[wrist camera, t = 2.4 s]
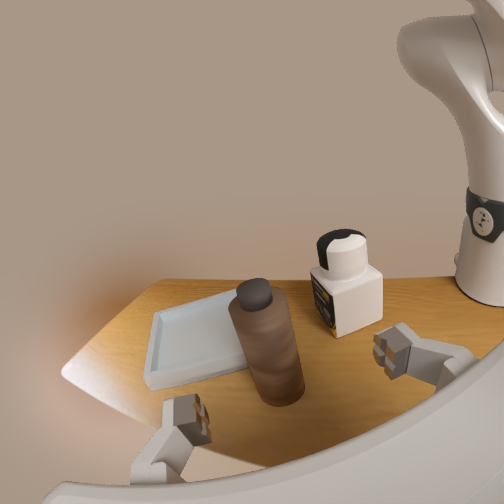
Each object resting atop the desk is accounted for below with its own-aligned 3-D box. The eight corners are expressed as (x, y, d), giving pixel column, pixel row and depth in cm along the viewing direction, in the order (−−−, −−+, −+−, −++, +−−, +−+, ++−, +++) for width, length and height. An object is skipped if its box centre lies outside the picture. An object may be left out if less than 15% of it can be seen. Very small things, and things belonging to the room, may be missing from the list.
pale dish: (248, 298, 48) (244, 285, 47) (271, 360, 33) (267, 346, 32) (160, 324, 46) (154, 312, 45) (151, 391, 32) (142, 378, 31)
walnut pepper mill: (296, 366, 31) (273, 266, 26) (311, 396, 26) (290, 291, 21) (255, 380, 30) (220, 282, 25) (265, 412, 26) (226, 312, 21)
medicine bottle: (315, 311, 40) (302, 234, 35) (358, 295, 40) (351, 219, 36) (336, 340, 33) (326, 254, 29) (383, 319, 34) (381, 235, 29)
